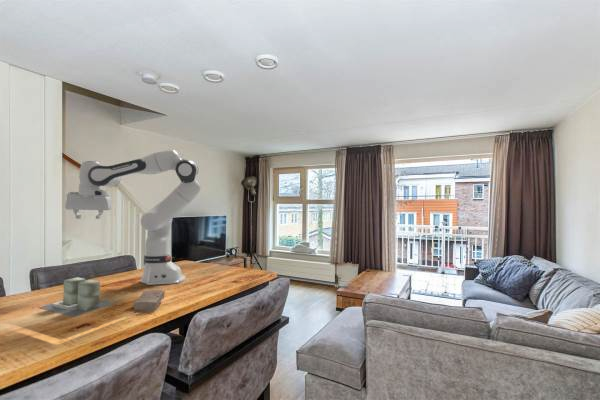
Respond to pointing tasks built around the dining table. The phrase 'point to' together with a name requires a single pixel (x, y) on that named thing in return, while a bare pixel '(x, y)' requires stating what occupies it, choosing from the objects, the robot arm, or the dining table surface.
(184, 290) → the dining table surface
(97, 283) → the column
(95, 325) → the dining table surface
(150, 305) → the brick
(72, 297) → the column
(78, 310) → the base board
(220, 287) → the dining table surface
